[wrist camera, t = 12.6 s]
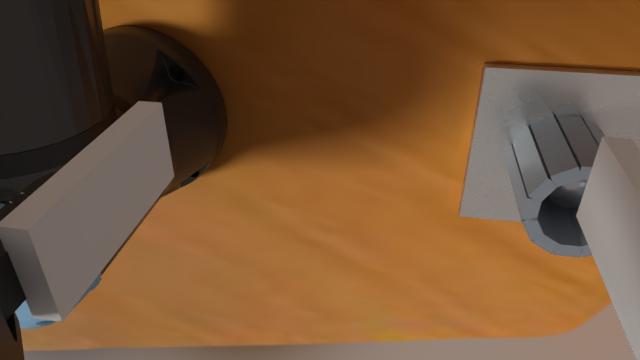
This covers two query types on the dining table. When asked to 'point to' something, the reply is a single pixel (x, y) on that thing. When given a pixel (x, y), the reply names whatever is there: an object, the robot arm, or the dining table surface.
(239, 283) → the dining table surface
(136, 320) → the dining table surface
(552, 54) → the dining table surface
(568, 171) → the sleeve
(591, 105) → the square plate
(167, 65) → the robot arm
